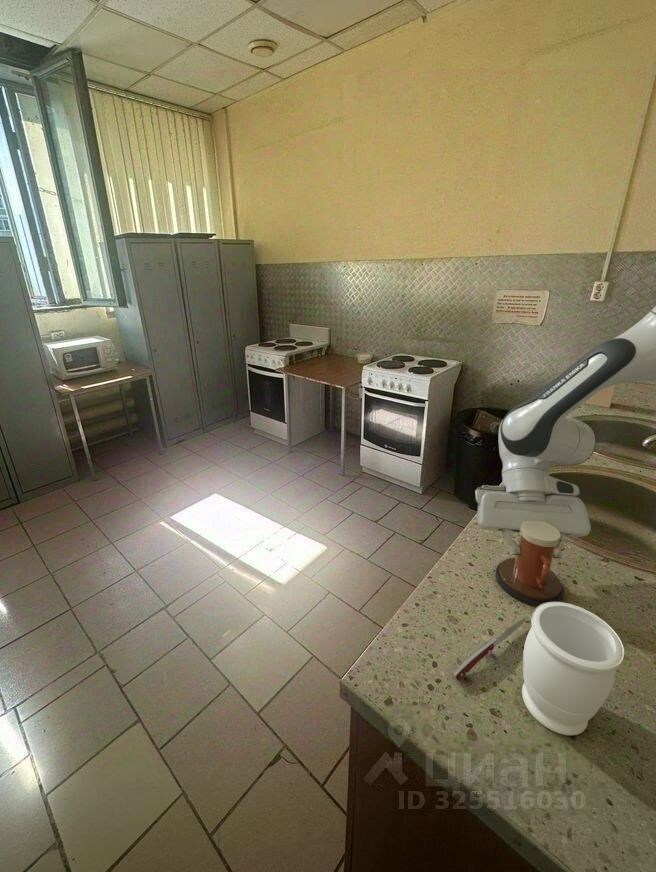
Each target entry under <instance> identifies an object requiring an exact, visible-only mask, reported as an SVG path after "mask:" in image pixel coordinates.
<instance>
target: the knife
mask: <svg viewBox="0 0 656 872" xmlns="http://www.w3.org/2000/svg"><path fill="white" fill-rule="evenodd" d="M528 618H529V616H526V617H524V618H522V619H521V620H519V621H517V622H515V623H514V624H513V625H510V626H508V627H507V628H506V629H505V631H503V632H502V633H501V634H500V635H498V636H497V637H493V638H491V640H489V641H487V642H486V643H484V644H483V645H482V646H481V647H479V648H478V649H477V650H476V651H475V652H474V653H473V654H472V655H471V656H469V657H468V658H467V659H466V660H465V661H464V662H462V663H461V664H460V666H459V667H457V669H456V670H455V671H454V672H453V673H452V676H453V677H454V678H455V679H456V680H457V681H462V679H463V678H465V676H467V674H468V673H469V672H470V671H471V670H472V669H473V668H474V667H475V666H476V665H477V664H478V663H479V662H480V661H482V659H483V658H485V657H486V656H487V655H488V654H489V655H491V654H492V653H493V650H495V649H494V648H495V647H496V646H497V645H498V644H500V643H501V642H503V641H504V640H506V639H507V638H508V637H509V636H511V635H512V634H513V633H514V632H515V631H516V630H518V629H519V628H520V627H521V626H522V625H523V624H524V622H525V621H526V620H527V619H528Z"/></svg>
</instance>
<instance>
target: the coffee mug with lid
mask: <svg viewBox="0 0 656 872" xmlns="http://www.w3.org/2000/svg"><path fill="white" fill-rule="evenodd" d="M519 533H520V536H519V540H518V545H520V551H521V555H515V557H509V558H507V559H504V560H502V561H501V562H502V563H501V562H500V563H501V564H500V563H499V564H500V567H499V575H500V577H501V579H502V581H503V582H504V583H505V584H506V585H507V586H508V587H509V588H510V589H512V590H513V591H515V592H516V593H518V594H520V595H522V596H525V597H527V598H530V599H535V600H543V601H544V600H551V599H554V598H556V597H557V596H558V595H559V594H560V592H561V584H562V583H561V580H560V579H559V577H558V575H556V574H555V572H554V571H552V570H551V566H552V563H553V561H554V560H553V559H554V558H553V556H554V552H555V548H556V545H557V544H558V543H559V540H560V536H561V535H560V532H559V531H558V530H557V529H556V528H555V527H554V526H552V525H550V524H548V523H546V522H538V521H523V522H522V523H521V527H520V532H519Z"/></svg>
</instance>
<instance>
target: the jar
mask: <svg viewBox="0 0 656 872" xmlns="http://www.w3.org/2000/svg"><path fill="white" fill-rule="evenodd" d="M530 621H531V622H530V623H531V624H530V625H531V626H530V629H529V631H528V633H527V636H526V639H525V642H524V645H523V654H522V660H523V661H522V675H523V684H522V687H521V696H522V700H523V702H524V705H525V707H526V708H527V710H528V711H529V713H530V714H531V715H532V717H533V718H534V719H535V720H536V721H538V722H539V724H541V725H542V726H544V727H545V728H547V729H549V730H550V731H552V732H554V733H556V734H560V735H563V736H577V735H580V734H582V733H584V732H585V730H586V729H587V727H588V723H589V720H591V719H592V718H594V716H595V715H596V714H597V713H598V711H599V710H600V709H601V707H602V706H603V705H604V704H605V702H606V701H607V700H608V699H609V697H610V695H611V692H612V690H613V688H614V684H615V680H616V673H617V669H618V668H619V667H620V666H621V664H622V662H623V660H624V656H625V647H624V645H623V643H622V641H621V638H620V637H619V635H618V634H617V633H616V631H615V630H614V629H613V628H612V627H611V626H610V625H609V624H608V623H607V622H606V621H604V620H603V619H602V618H600V617H599V616H598V615H596V614H595V613H593V612H591V611H589V610H588V609H585V608H583V607H580V606H578V605H575V604H573V603H568V602H563V601H560V602H547V603H543V604H541V605H539V606H536V607H535V609H534V610H533V612H532V616H531V620H530Z"/></svg>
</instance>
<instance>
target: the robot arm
mask: <svg viewBox="0 0 656 872" xmlns="http://www.w3.org/2000/svg"><path fill="white" fill-rule="evenodd" d="M634 382H656V306H654V307H653V308H652V309H651V310H650V311H649V312H648V313H647V314H646V315H645V316H643V318H642V319H640V320H639V321H637V322H636V323H634V325H633V326H630V328H628V329H627V330H626V331H624V332H622V333H621V334H618V336H616V337H614V338H612V339H609V340H606V341H604V342H602V343H600V344H599V345H597V346H595V347H593V348H591V350H589V351H588V352H587V353H585V354H584V355H583V356H581V357H580V358H579V359H578V360H576V361H575V362H574V363H573V364H572V365H570V366H569V367H568V368H567V369H566V370H564V371H563V372H562V373H560V375H558V376H557V377H556V378H554V379H553V380H552V381H551V382H549V383H548V384H547V385H546V386H544V388H542V389H541V390H540V391H539V392H537V393H536V394H534V395H533V396H532V397H530V398H528V399H527V400H525V401H522V402H520V403H518V404H517V405H515V406H514V407H512V408H511V409H510V410H509V411H508V412H507V413H506V414H505V416H504V417H503V419H502V420H501V421H500V423H499V427H498V435H497V436H498V437H497V438H498V453H499V457H500V460H501V463H502V469H501V480H502V485H489V484H483V485H481V486H479V487H477V488H476V489H475V492H474V496H475V503H477V513H476V514H477V515H476V516H477V517H476V522H477V526H478V527H479V528H480V529H481V530H484V531H495V532H496V531H497V532H501V537H502V539H503V540H504V541H505V544H507V545H508V546H507V547H508V548H509V549H508V550H509V554H510V555H511V556H516V555H521V551H520V545H519V544H516V543H515V541H514V539H513V538H512V536H514V533H520V527H521V523H522V522H523V521H538V522H546V523H548V524H550V525H552V526H554V527H555V528H556V529H557V530H558V531H559V532H560V535H561V536H560V540H559V543H558V544H557V545H556V548H555V552H554V556H553V559H556V560H560V559H562V558H563V553H562V549H563V547H564V545H565V543H566V541H567V538H566V537H574V538H582V537H586V536H589V534H590V533H591V531H592V527H591V522H590V517H589V514H588V511H587V508H586V505H585V503H584V502H583V501H582V499H581V498H579V497H577V496H579V495H580V488H579V486H578V485H577V484H574V483H571V482H568V481H565V480H562V479H559V478H556V477H554V476H551V475H550V468H551V467H569V466H578V465H581V464H583V463H586V462H587V461H588V460H589V459H590V458H591V457H592V455H593V454H594V452H595V450H596V447H597V437H596V434H595V431H594V429H593V428H592V427H591V426H590V425H589V424H588V423H585V422H583V421H581V420H579V419H576V418H574V417H571V416H568V415H570V414H572V412H573V411H575V410H576V409H577V408H579V407H580V406H581V405H583V404H584V403H586V402H587V400H588V399H589V398H591V397H592V396H593V395H595V394H596V393H597V392H599V391H601V390H603V389H605V388H607V387H609V386H612V385H616V384H617V385H620V384H625V383H634ZM617 385H616V386H617Z"/></svg>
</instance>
